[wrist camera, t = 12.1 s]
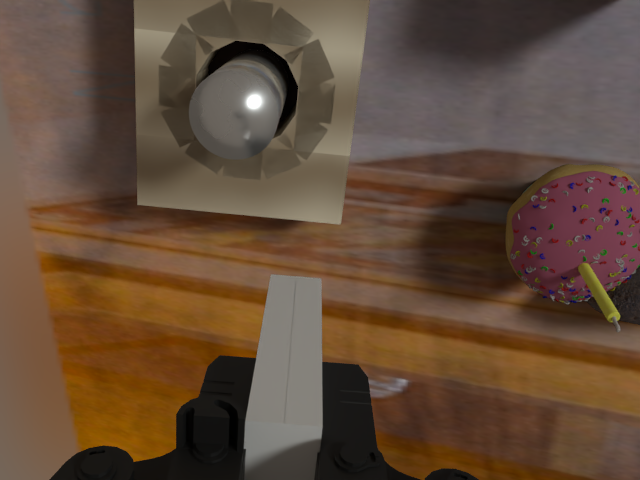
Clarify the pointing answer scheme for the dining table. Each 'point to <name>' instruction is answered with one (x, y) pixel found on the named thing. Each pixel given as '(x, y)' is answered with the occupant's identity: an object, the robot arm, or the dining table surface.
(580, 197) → the cupcake
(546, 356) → the dining table surface
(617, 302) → the perforated stone tool
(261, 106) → the grey metal rod
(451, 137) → the dining table surface
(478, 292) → the dining table surface
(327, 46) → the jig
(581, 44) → the dining table surface
